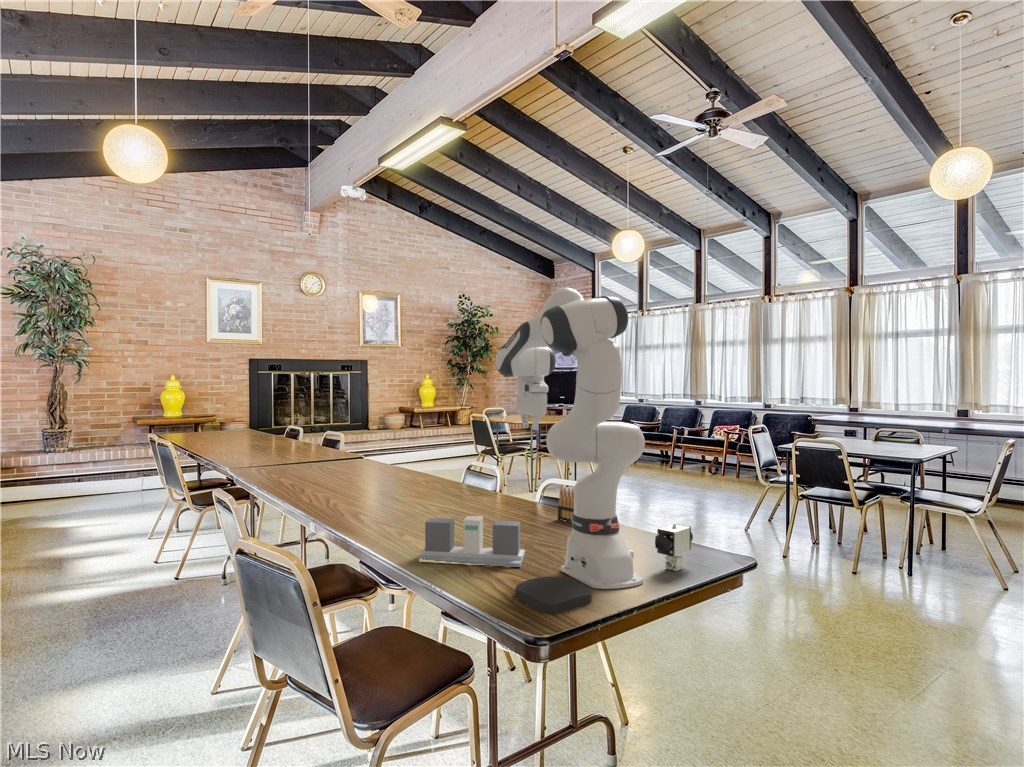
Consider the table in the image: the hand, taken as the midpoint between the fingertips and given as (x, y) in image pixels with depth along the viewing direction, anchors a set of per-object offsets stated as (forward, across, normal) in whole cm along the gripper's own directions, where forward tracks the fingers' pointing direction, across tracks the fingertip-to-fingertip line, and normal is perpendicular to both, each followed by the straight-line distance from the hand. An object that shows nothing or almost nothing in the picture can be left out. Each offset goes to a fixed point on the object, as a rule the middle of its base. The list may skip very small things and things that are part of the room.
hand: (530, 428), depth 182 cm
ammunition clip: (+34, -10, +19) cm, 41 cm away
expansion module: (+32, +21, -24) cm, 45 cm away
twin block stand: (+34, +21, -24) cm, 47 cm away
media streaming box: (+35, +54, -13) cm, 66 cm away
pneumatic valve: (+34, +44, +25) cm, 61 cm away
